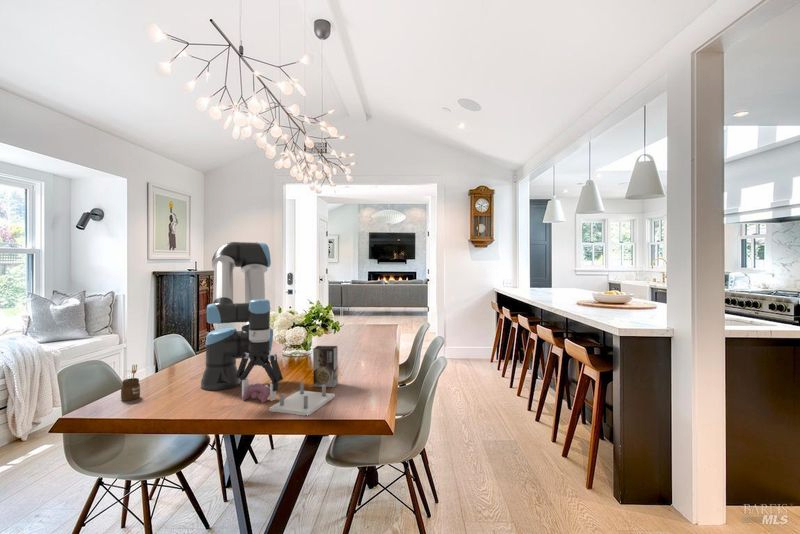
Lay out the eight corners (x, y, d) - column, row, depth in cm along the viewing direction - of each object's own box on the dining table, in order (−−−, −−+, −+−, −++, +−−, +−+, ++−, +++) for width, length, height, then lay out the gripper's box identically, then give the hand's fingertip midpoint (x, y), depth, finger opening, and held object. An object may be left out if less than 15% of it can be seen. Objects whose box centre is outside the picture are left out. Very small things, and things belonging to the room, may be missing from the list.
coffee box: (338, 383, 168) (338, 345, 168) (334, 387, 161) (334, 348, 161) (317, 382, 168) (317, 345, 169) (312, 386, 162) (312, 348, 162)
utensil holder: (117, 401, 143) (117, 368, 143) (126, 396, 149) (126, 364, 149) (135, 400, 144) (135, 368, 144) (143, 395, 150) (143, 364, 150)
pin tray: (269, 411, 134) (269, 395, 134) (299, 393, 154) (299, 380, 154) (308, 415, 130) (308, 400, 130) (334, 397, 149) (334, 383, 149)
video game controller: (269, 404, 145) (274, 385, 148) (262, 402, 141) (268, 383, 144) (247, 401, 148) (253, 383, 151) (240, 399, 145) (246, 380, 148)
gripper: (225, 340, 147) (225, 398, 147) (281, 344, 140) (280, 404, 140) (239, 337, 154) (238, 392, 154) (292, 340, 148) (292, 398, 147)
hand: (258, 398), depth 147 cm, fingers open, 12 cm apart
